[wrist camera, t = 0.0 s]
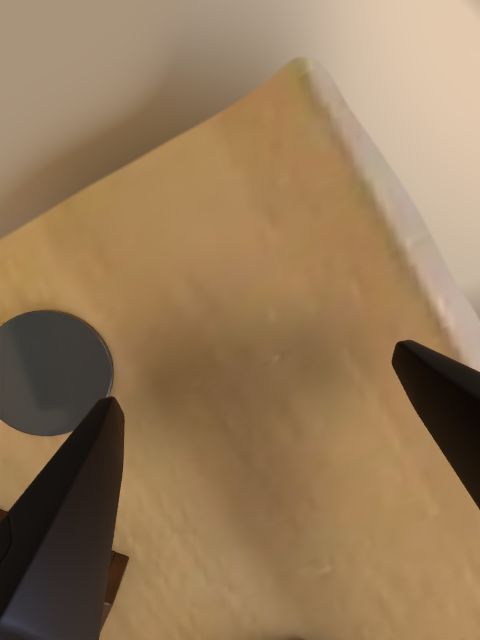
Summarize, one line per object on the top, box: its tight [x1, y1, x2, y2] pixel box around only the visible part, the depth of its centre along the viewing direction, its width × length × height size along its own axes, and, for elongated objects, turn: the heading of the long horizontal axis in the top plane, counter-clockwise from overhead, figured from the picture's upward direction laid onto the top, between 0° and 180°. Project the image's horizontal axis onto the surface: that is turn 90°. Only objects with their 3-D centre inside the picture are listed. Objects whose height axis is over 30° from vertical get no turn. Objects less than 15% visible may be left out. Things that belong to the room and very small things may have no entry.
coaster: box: [0, 310, 113, 436], centre depth 23 cm, size 10×10×1 cm
